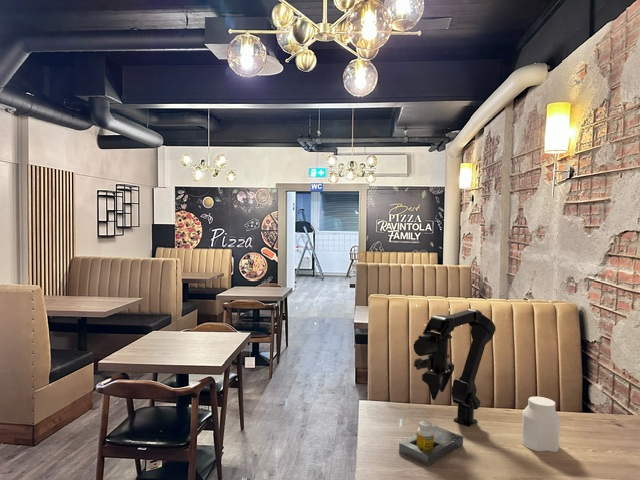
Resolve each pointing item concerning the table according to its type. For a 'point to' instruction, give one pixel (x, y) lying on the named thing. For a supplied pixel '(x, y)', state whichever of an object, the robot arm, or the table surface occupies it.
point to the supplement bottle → (425, 435)
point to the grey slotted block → (442, 446)
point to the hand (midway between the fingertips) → (437, 395)
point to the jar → (540, 425)
